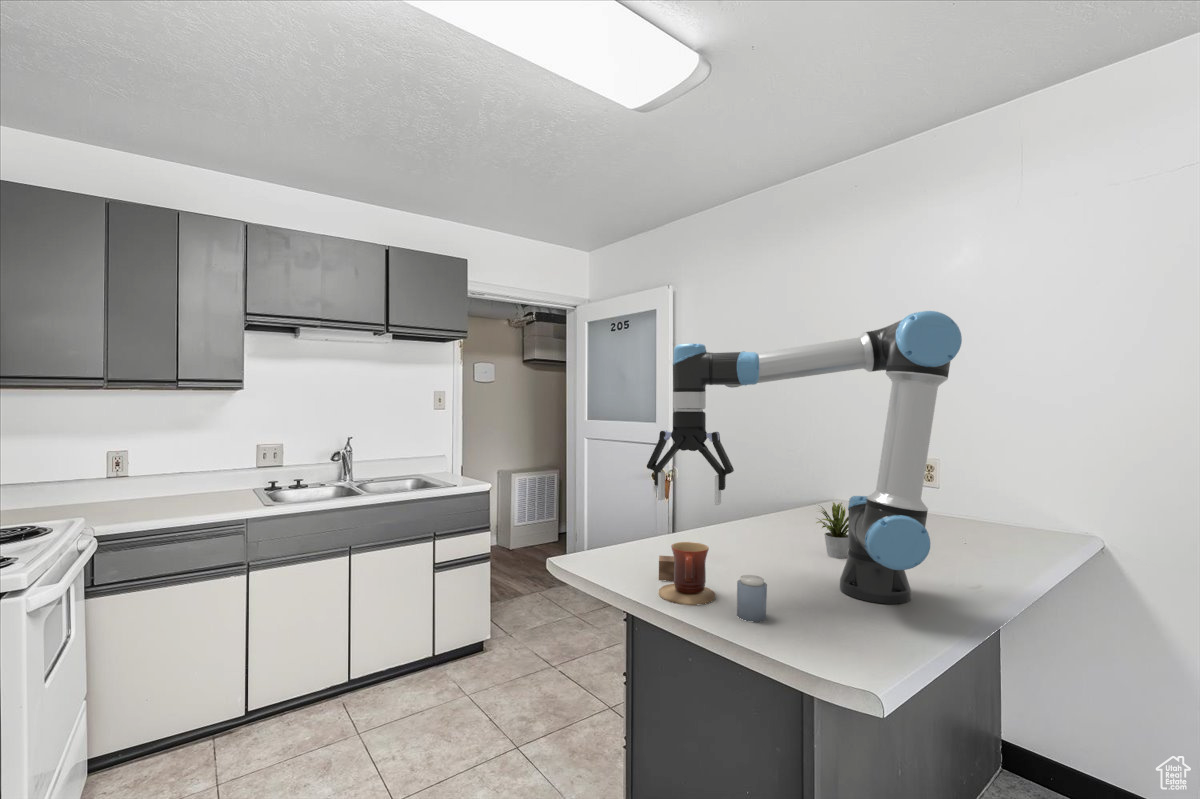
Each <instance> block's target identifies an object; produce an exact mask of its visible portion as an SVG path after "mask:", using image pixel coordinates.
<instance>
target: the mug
mask: <svg viewBox="0 0 1200 799" xmlns="http://www.w3.org/2000/svg"><path fill="white" fill-rule="evenodd" d="M670 548H671V550H672V556H674V579H673V580H674V581H673V584H674V585H675V589H676V590H677V591H679V592H681V593H684V594H698V593H701V592H702V591H703V590H704V588H705V587H706V583H707V581H706V579H707V578H706V576H707V574H706V573H707V572H706V569H707V568H706V560H707V556H708V553H709V549H710V547H709V546H708V545H706V544H704V543H700V542H693V541H679V542H675V543H673V544H671V546H670Z"/></svg>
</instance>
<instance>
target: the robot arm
mask: <svg viewBox="0 0 1200 799" xmlns="http://www.w3.org/2000/svg"><path fill="white" fill-rule="evenodd" d="M962 340H963V338H962V333H961V329H960V327H959V325H958V324H957V322H955V321H954V320H953V319H952V318H951V317H950V316H949V315H947V314H945V313H943V312H939V311H935V310H924V311H918V312H917V311H916V312H913V313H911V314H908V315H907V316H905V317H904V318H903V319H901V320H898V321H896V322H894V323H892V324H890V325H887V326H885V327H882V328H878V329H875V330H871V331H870V330H869V331H864V332H862V333H861V334H860V336H859V337H858V336H857V337H853V338H846V339H841V340H833V341H826V342H820V343H814V344H807V345H800V346H793V347H788V348H782V349H777V350H768V351H763V352H755V351H753V352H752V351H750V352H749V351H733V352H732V351H731V352H729V351H727V352H710V351H707V349H706V345H705V344H702V343H681V344H677V345H676V346H674V348H673V359H672V361H673V362H672V387H673V388H672V392H673V393H672V409H674V410H675V411H673V413H672V431H668V430H666V429H665V430H660V432H659V437H658V441H657V443H656V445H655V448H654V449H653V451H652V454H651V456H650V458H649V459H648V461H647V464H646V468H647V469H648V470H651V471H652V472H654V480H653V482H654V485H655V486H657V501H662V500H665V498H666V472H665V471H663V469H664V468H665V467H666V465H667V464H668V463H669V462H670V461H671V459H672V458H673V457H674V456H675V455H676V454H677V453H678V452H679V451H682V452H683V451H684V452H685V451H691V452H696V451H698V452H699V453H700V454H701V455H702V456H703V458H705V460H706V462H708V464H709V465H710V466H711V467H712V469H713V470H714V472H716V474H717V475H715V476H714V506H720V505H721V504H722V491H724V490H725V489H726V476H727V475H729V474H732V473H734V471H735V470H734V467H733V464H732V463H731V461H730V459H729V457H728V454H727V452H726V451H725V448H724V446H723V444H722V442H721V436H720V432H718V431H713V432H707V430H706V427H707V426H706V424H707V423H706V421H707V420H706V419H707V418H706V416H707V415H706V412H705V411H704V410H705V409H706V397H707V396H706V394H707V392H706V391H707V390H706V386H707V385H708V386H725V387H728V388H732V389H733V388H738V387H743V386H751V385H753V386H754V385H757V384H763V383H768V382H769V383H770V382H776V381H782V380H783V381H784V380H789V379H796V378H797V379H798V378H805V377H812V376H820V375H826V374H833V373H840V372H847V371H849V372H850V371H855V370H862V369H863V370H865V371H866V372H868V373H872V372H877V371H880V372H881V371H885V375H886V376H887V377H888V379H890V381H891V388H890V394H889V401H888V408H887V413H886V422H885V427H884V434H883V441H882V448H881V454H880V460H879V468H878V475H877V481H876V487H875V490H874V492H872V493H870V494H868V495H852V496H851V497H850V498H849V500H848V506H847V510H848V516H849V518H848V521H847V524H848V529H847V530H848V532H847V533H848V534H847V535H848V552H847V560H846V561H845V564H844V568H843V570H842V573H841V576H840V578H839V590H840V591H841V592H842V593H844V594H846V595H847V596H850V597H852V598H854V599H858V600H863V601H866V602H870V603H878V604H887V605H893V604H894V605H898V604H897V603H899V604H905V603H908V602H909V601H911V597H912V596H911V595H912V593H911V592H912V590H911V589H912V588H911V586H910V583H909V580H908V577H907V576H908V575H907V573H906V571H907V570H911V569H914V568H915V567H917V566H919V565H921V564H922V563H923V562H924V561H925V560H926V559H927V557H928V555H929V553H930V550H931V537H930V534H929V532H928V530H927V528H926V523H927V518H928V511H929V508H928V507H927V506H926V504H925V503H924V502H923V500H922V493H923V487H924V482H925V475H926V469H927V461H928V454H929V447H930V444H931V442H930V441H931V435H932V429H933V422H934V417H935V416H934V415H935V407H936V403H937V402H936V401H937V396H938V395H937V394H938V388H939V386H941V385H942V384H943V383H945V382H947V381H948V379H949V373H950V366H951V362H952V361H953V359H955V357H956V356H957V354H958V353H959V352H960V349H961V347H962ZM670 438H671V439H672V440H673V442H674V443H673V444H672V445H671V446H670V448H669V449H668V451H667V452H666V453H665V454H664V456H663V457H662V458H661V459H660V457H661V454H662V452H663V450H664V448H665V446H666V445H667V442H668V441H669V440H670ZM707 439H708V440H709V441H710V443H712V445H713V448H714V449H715V452H716V453H717V456H718V458H719V460H720V461H721V464H722V465H721V464H720V462H719V461H718V460H717V458H716V457H715V456H714V455H713V453H712V451H710V450H709V448H708V446H707V445H706V444H705V443H706V441H707ZM659 459H660V460H659ZM658 460H659V461H658ZM907 601H908V602H907Z"/></svg>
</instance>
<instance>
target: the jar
mask: <svg viewBox="0 0 1200 799" xmlns="http://www.w3.org/2000/svg"><path fill="white" fill-rule="evenodd" d="M739 578H740V579H738V580H737V582H736V585H737V586H736V617H737V616H738V617H739V618H738V617H737V618H738V619H740V618H741V619H740V620H742V619H743V620H742V621H744V620H746V621H745V622H748V621H753V622H752V623H761V622H760V621H763V622H765V621H766V620H767V610H768V608H767V607H768V606H767V605H768V604H767V602H768V601H767V598H768V595H767V594H768V589H767V588H768V584H767V582H765V579H764V578H763V577H762V576H759V575H753V574H745V575H740V577H739ZM764 620H765V621H764Z"/></svg>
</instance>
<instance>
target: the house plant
mask: <svg viewBox="0 0 1200 799" xmlns="http://www.w3.org/2000/svg"><path fill="white" fill-rule="evenodd" d="M812 504H813V505H815V503H812ZM842 504H843V502H841V503H840V502H839V503H838V504H837V505H836V503H835V502H834V501H832V506H831V512H832V513H831V514H832V518H833V519H832V518H831V517H830V514H828V512H827V511H826V510H825V508H824V507H823V506H821V504H818V506H820V507H818V508H817V509H818V511H817V513H818V512H819V513H822V514H823V515H824V516H825V518H817V517H816V519H817V520H819V521H817V522H815V525H816V524H820V523H821V524H823V525H822V526H821V529H823V528H826V531H829V532H825V533H824V541H825V547H826V553H827V556H828V557H830V558H833V559H841V560H842V559H846V558H848V534H847V533H848V518H849V515H848V516H847V517H845V516H846V507H845V506H843V505H842ZM843 507H844V508H843ZM819 508H820V509H819ZM822 520H823V521H822ZM825 521H827V522H828V523H829V524H830V525H829V524H828V523H827V522H825Z"/></svg>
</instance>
